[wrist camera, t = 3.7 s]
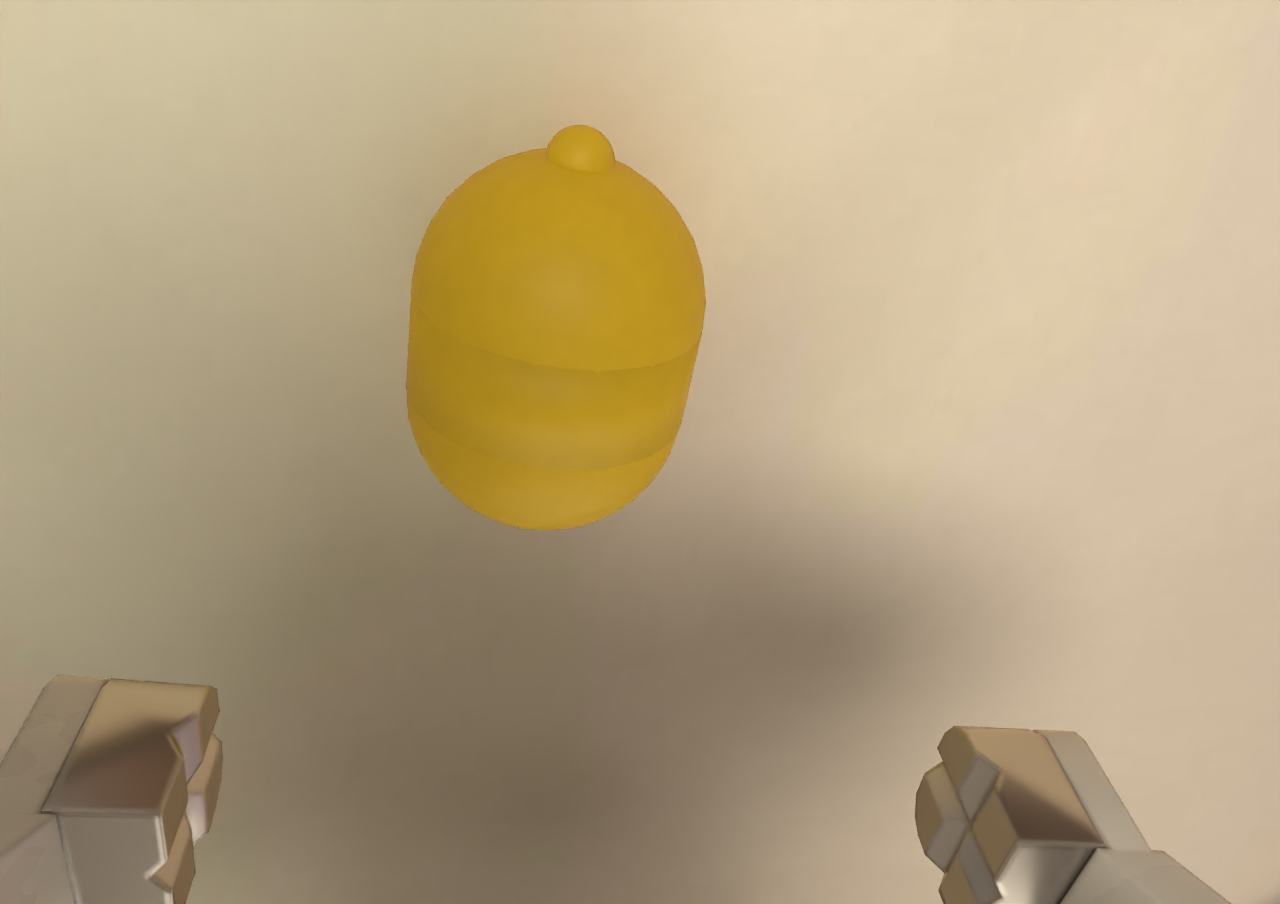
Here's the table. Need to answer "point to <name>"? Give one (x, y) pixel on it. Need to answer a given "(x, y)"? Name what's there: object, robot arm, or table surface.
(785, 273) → the table surface
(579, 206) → the lemon
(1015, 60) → the table surface
